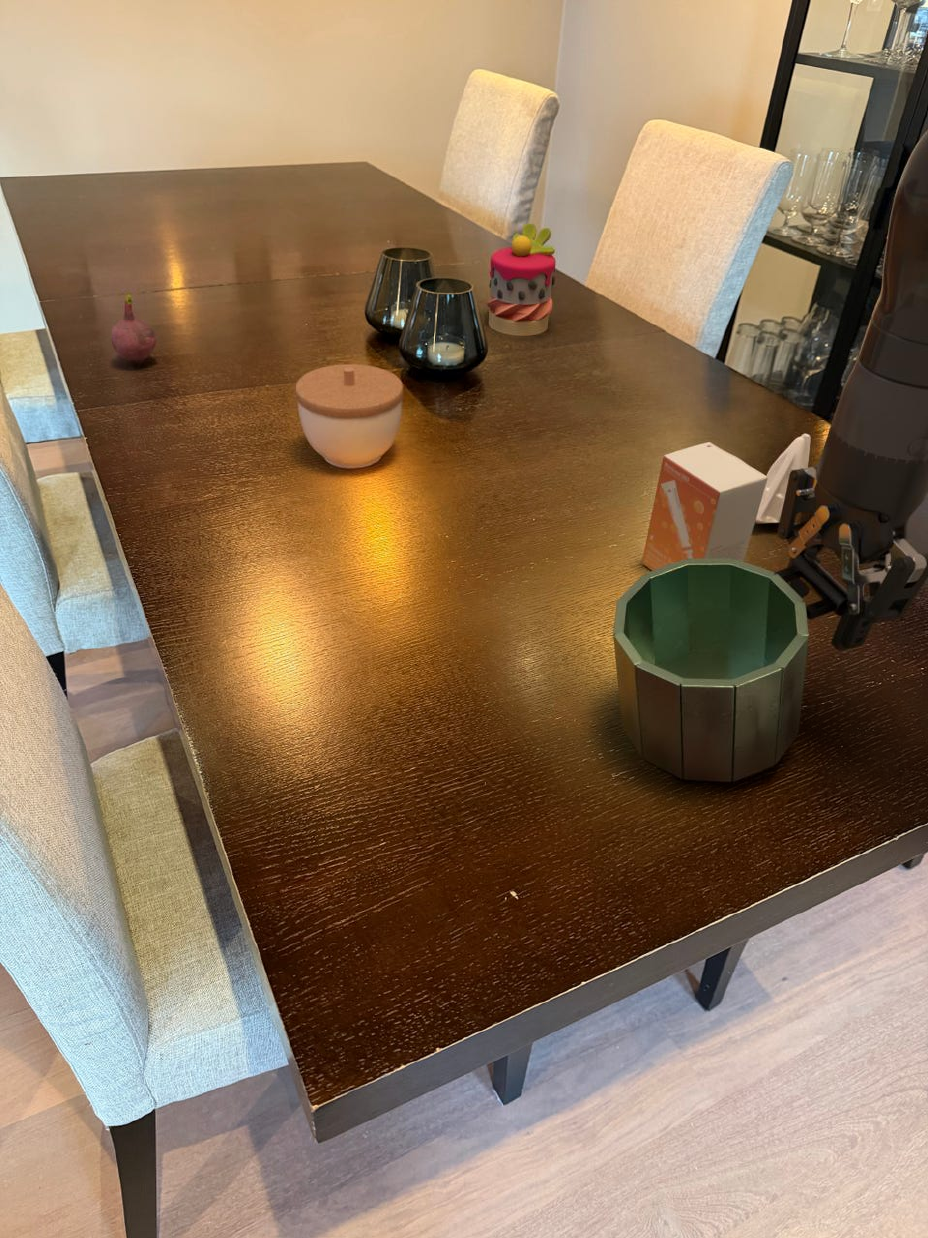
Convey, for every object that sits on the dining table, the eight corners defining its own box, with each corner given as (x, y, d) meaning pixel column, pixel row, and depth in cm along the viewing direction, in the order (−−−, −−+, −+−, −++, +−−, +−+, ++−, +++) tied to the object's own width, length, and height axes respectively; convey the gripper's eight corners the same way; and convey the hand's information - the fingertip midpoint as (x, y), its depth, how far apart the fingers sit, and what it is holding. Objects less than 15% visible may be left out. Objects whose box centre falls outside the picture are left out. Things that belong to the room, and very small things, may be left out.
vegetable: (144, 375, 126) (131, 305, 120) (107, 368, 128) (91, 298, 121) (168, 359, 131) (156, 290, 125) (132, 353, 132) (118, 284, 126)
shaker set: (752, 536, 99) (777, 446, 93) (737, 516, 103) (760, 428, 96) (851, 530, 101) (883, 441, 94) (833, 510, 104) (863, 423, 98)
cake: (544, 340, 143) (554, 241, 133) (480, 331, 144) (485, 234, 135) (554, 317, 151) (564, 223, 141) (493, 310, 152) (499, 216, 143)
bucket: (596, 687, 79) (774, 619, 81) (672, 806, 69) (875, 725, 71) (585, 594, 72) (781, 522, 74) (668, 713, 61) (894, 625, 64)
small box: (639, 564, 94) (661, 453, 86) (684, 548, 97) (709, 439, 89) (692, 605, 89) (720, 491, 81) (738, 587, 92) (770, 475, 84)
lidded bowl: (414, 473, 107) (414, 387, 101) (309, 485, 104) (302, 396, 98) (391, 426, 117) (390, 344, 110) (294, 436, 114) (286, 352, 107)
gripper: (1012, 474, 57) (916, 670, 68) (867, 381, 68) (804, 563, 78) (916, 488, 55) (833, 687, 66) (783, 390, 66) (730, 575, 76)
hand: (818, 619), depth 72 cm, fingers closed on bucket, 6 cm apart
